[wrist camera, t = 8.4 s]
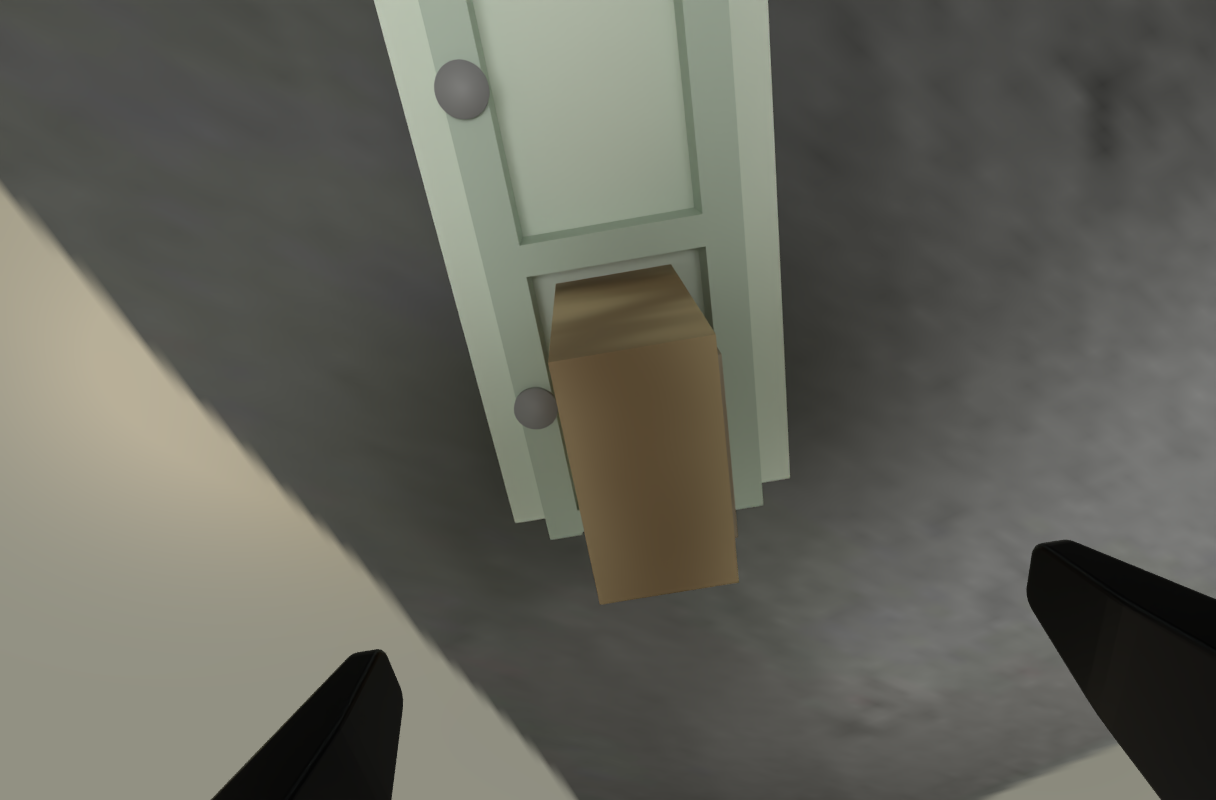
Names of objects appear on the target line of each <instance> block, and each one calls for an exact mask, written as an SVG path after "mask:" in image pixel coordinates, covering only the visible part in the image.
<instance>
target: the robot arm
mask: <svg viewBox="0 0 1216 800" xmlns="http://www.w3.org/2000/svg"><path fill="white" fill-rule="evenodd" d="M1027 598H1028V602H1029V604H1030V607H1031V609H1032V610H1033V612H1034V614H1035V615H1036V617H1037V619H1038V620H1039V622H1040V623H1041V625H1042V627H1043V628H1044V630H1045V632H1046V633H1047V635H1048V636H1049V638H1050V640H1051V641H1052V643H1053V645H1054V646H1055V648H1056V649H1057V651H1058V653H1059V654H1060V656H1061V658H1062V659H1063V661H1064V662H1065V664H1066V666H1067V667H1068V669H1069V671H1070V672H1071V674H1072V675H1073V677H1074V679H1075V680H1076V682H1077V683H1078V685H1079V687H1080V688H1081V690H1082V692H1083V693H1084V695H1085V696H1086V698H1087V699H1088V701H1089V703H1090V704H1091V706H1092V707H1093V709H1094V710H1095V712H1096V713H1097V715H1098V716H1099V717H1100V719H1101V720H1102V722H1103V723H1104V724H1105V726H1106V727H1107V729H1108V730H1109V731H1110V733H1111V734H1112V735H1113V737H1114V738H1115V739H1116V741H1117V742H1118V743H1119V745H1120V746H1121V747H1122V749H1123V750H1124V751H1125V753H1126V754H1127V755H1128V756H1129V758H1130V759H1131V761H1132V762H1133V763H1134V764H1135V766H1136V767H1137V768H1138V770H1139V771H1140V772H1141V774H1142V775H1143V776H1144V778H1145V779H1146V780H1147V782H1148V783H1149V784H1150V786H1151V787H1152V788H1153V790H1154V791H1155V792H1156V794H1157V795H1158V796H1159V798H1160V799H1161V800H1216V599H1214V598H1212V597H1209V596H1207V595H1204V594H1202V593H1199V592H1197V591H1194V590H1192V589H1190V588H1187V587H1185V586H1182V585H1180V584H1177V583H1175V582H1172V581H1170V580H1167V579H1165V578H1163V577H1160V576H1158V575H1155V574H1153V573H1150V572H1148V571H1145V570H1143V569H1140V568H1138V567H1136V566H1133V565H1131V564H1128V563H1126V562H1123V561H1121V560H1118V559H1116V558H1113V557H1111V556H1109V555H1106V554H1104V553H1101V552H1099V551H1096V550H1094V549H1091V548H1089V547H1086V546H1084V545H1082V544H1079V543H1077V542H1074V541H1071V540H1059V541H1052V542H1046V543H1041V544H1038V545H1036V546H1035V548H1034V549H1033V551H1032V556H1031V563H1030V569H1029V576H1028V582H1027ZM402 710H403V697H402V691H401V688H400V686H399V683H398V681H397V678H396V676H395V673H394V671H393V669H392V667H391V664H390V662H389V659H388V657H387V655H386V653H385V652H383V651H382V650H379V649H376V650H370V651H364V652H357V653H354V654H352V655H351V656H349V657H348V658H347V659H346V660H345V661H344V662H343V663H342V664H341V665H340V666H339V667H338V668H337V669H336V670H335V672H334V673H333V674H332V675H331V676H330V677H329V678H328V679H327V680H326V681H325V682H324V683H323V684H322V685H321V686H320V687H319V688H318V689H317V690H316V691H315V692H314V693H313V694H312V695H311V696H310V698H308V700H307V701H306V702H305V703H304V704H303V705H302V706H301V707H300V708H299V709H298V710H297V711H296V712H295V713H294V714H293V715H292V716H291V717H290V718H289V719H288V720H287V721H286V722H285V723H284V724H283V725H282V726H281V727H280V729H279V730H278V731H277V732H276V733H275V734H274V735H273V736H272V737H271V738H270V739H269V740H268V741H267V742H266V743H265V744H264V745H263V746H262V747H261V748H260V749H259V750H258V751H257V752H256V753H255V755H254V756H252V758H251V759H250V760H249V761H248V762H247V763H246V764H245V765H244V766H243V767H242V768H241V769H240V770H239V771H238V772H237V773H236V774H235V775H234V776H233V777H232V778H231V779H230V780H229V781H228V782H227V784H225V785H224V787H223V788H222V789H221V790H220V791H219V792H218V793H217V794H216V795H215V796H214V797H213V798H212V799H211V800H391V798H392V790H393V782H394V774H395V765H396V758H397V750H398V741H399V734H400V726H401V718H402Z"/></svg>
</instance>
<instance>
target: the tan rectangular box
mask: <svg viewBox="0 0 1216 800" xmlns="http://www.w3.org/2000/svg"><path fill="white" fill-rule="evenodd" d="M548 365H549V370H550V375H551V379H552V384H553V389H554V393H555V398H556V402H557V407H558V412H559V416H560V421H561V426H562V430H563V435H564V440H565V444H566V449H567V454H568V458H569V463H570V468H571V472H572V477H573V482H574V486H575V491H576V496H577V500H578V505H579V509H580V514H581V519H582V523H583V528H584V533H585V537H586V542H587V547H588V551H589V556H590V561H591V565H592V570H593V575H594V579H595V584H596V589H597V593H598V598H599V603H600V605H601V604H607V603H614V602H620V601H626V600H632V599H639V598H645V597H651V596H657V595H663V594H670V593H676V592H682V591H688V590H695V589H701V588H707V587H713V586H720V585H726V584H732V583H738V582H739V577H738V567H737V556H736V545H735V538H737V537H738V530H737V519H736V508H735V497H734V486H733V475H732V464H731V453H730V442H729V431H728V419H727V408H726V397H725V386H724V375H723V364H722V354H721V352H720V351H719V349H718V347H717V341H716V334H715V332H714V331H713V329H712V328H711V326H710V324H709V323H708V321H707V320H706V318H705V317H704V315H703V313H702V312H701V310H700V309H699V307H698V306H697V304H696V303H695V301H694V299H693V298H692V296H691V295H690V293H689V292H688V290H687V288H686V287H685V285H684V284H683V282H682V281H681V279H680V277H679V276H678V274H677V273H676V271H675V270H674V268H673V267H672V265H671V264H669V265H663V266H657V267H651V268H645V269H639V270H634V271H628V272H622V273H616V274H610V275H604V276H599V277H593V278H587V279H581V280H575V281H569V282H564V283H558V284H556V286H555V297H554V307H553V317H552V327H551V337H550V347H549V357H548Z"/></svg>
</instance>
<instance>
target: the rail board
mask: <svg viewBox="0 0 1216 800" xmlns="http://www.w3.org/2000/svg"><path fill="white" fill-rule="evenodd" d="M374 2H375V6H376V10H377V13H378V17H379V21H380V24H381V28H382V32H383V35H384V39H385V43H386V47H387V50H388V54H389V58H390V61H391V65H392V69H393V72H394V76H395V80H396V84H397V87H398V91H399V95H400V98H401V102H402V106H403V110H404V113H405V117H406V121H407V124H408V128H409V132H410V135H411V139H412V143H413V147H414V150H415V154H416V158H417V161H418V165H419V169H420V172H421V176H422V180H423V184H424V187H425V191H426V195H427V198H428V202H429V206H430V209H431V213H432V217H433V221H434V224H435V228H436V232H437V235H438V239H439V243H440V246H441V250H442V254H443V258H444V261H445V265H446V269H447V272H448V276H449V280H450V284H451V287H452V291H453V295H454V298H455V302H456V306H457V309H458V313H459V317H460V321H461V324H462V328H463V332H464V335H465V339H466V343H467V346H468V350H469V354H470V358H471V361H472V365H473V369H474V372H475V376H476V380H477V383H478V387H479V391H480V395H481V398H482V402H483V406H484V409H485V413H486V417H487V420H488V424H489V428H490V432H491V435H492V439H493V443H494V446H495V450H496V454H497V458H498V461H499V465H500V469H501V472H502V476H503V480H504V483H505V487H506V491H507V495H508V498H509V502H510V506H511V509H512V513H513V517H514V520H515V523H520V522H526V521H532V520H538V519H544V518H545V520H546V524H547V528H548V532H549V536H550V540H553V539H559V538H566V537H572V536H578V535H582V532H584V528H583V523H582V519H581V514H580V509H579V505H578V500H577V496H576V491H575V486H574V482H573V477H572V472H571V468H570V463H569V458H568V454H567V449H566V444H565V440H564V435H563V430H562V426H561V421H560V416H559V412H558V407H557V402H556V398H555V393H554V389H553V384H552V379H551V375H550V370H549V365H548V357H549V347H550V337H551V327H552V317H553V307H554V297H555V286H556V284H558V283H564V282H569V281H575V280H581V279H587V278H593V277H599V276H604V275H610V274H616V273H622V272H628V271H634V270H639V269H645V268H651V267H657V266H663V265H669V264H671V265H672V267H673V268H674V270H675V271H676V273H677V274H678V276H679V277H680V279H681V281H682V282H683V284H684V285H685V287H686V288H687V290H688V292H689V293H690V295H691V296H692V298H693V299H694V301H695V303H696V304H697V306H698V307H699V309H700V310H701V312H702V313H703V315H704V317H705V318H706V320H707V321H708V323H709V324H710V326H711V328H712V329H713V331H714V332H715V334H716V341H717V347H718V349H719V351H720V352H721V354H722V364H723V375H724V386H725V397H726V408H727V419H728V431H729V442H730V453H731V464H732V475H733V486H734V497H735V508H736V510H737V509H743V508H749V507H755V506H761V505H763V494H762V483H763V482H769V481H775V480H782V479H788V478H790V466H789V444H788V423H787V401H786V380H785V358H784V337H783V316H782V294H781V273H780V251H779V230H778V208H777V187H776V165H775V144H774V122H773V101H772V79H771V58H770V36H769V15H768V0H374Z"/></svg>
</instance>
